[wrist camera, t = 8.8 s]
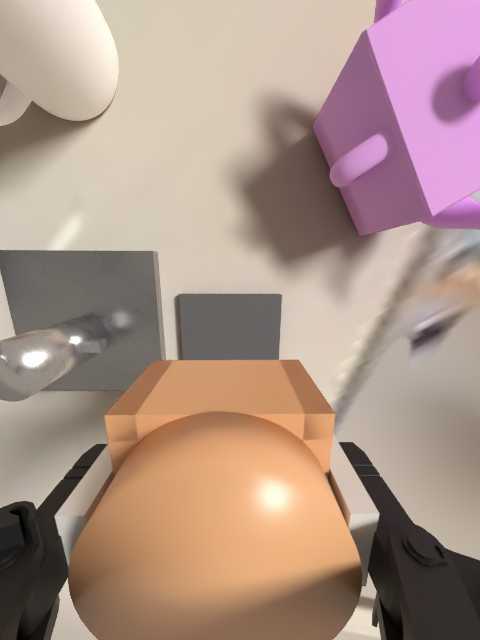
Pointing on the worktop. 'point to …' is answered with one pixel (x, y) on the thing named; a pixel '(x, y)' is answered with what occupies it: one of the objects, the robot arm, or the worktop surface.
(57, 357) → the post fixture
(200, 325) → the pad
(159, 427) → the cap
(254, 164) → the worktop surface
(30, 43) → the cup
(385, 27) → the teapot
